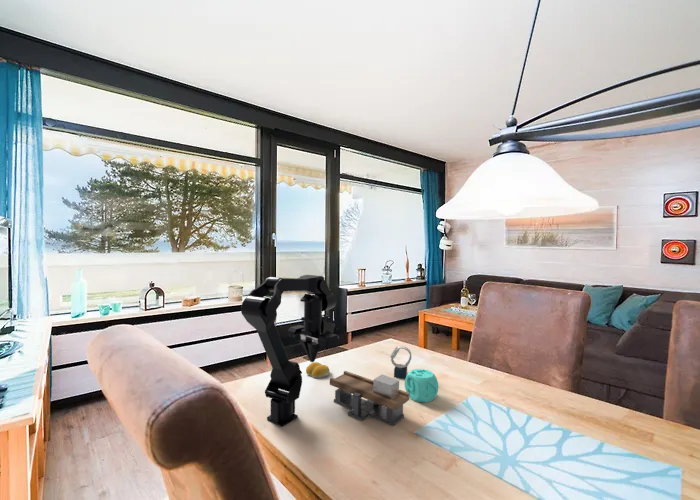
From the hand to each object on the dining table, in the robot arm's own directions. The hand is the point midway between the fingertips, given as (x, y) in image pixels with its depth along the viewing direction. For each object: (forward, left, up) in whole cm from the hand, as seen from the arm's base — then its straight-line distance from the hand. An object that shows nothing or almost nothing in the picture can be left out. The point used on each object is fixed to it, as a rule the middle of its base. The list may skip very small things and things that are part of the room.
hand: (312, 361), depth 113 cm
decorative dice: (+23, -27, -12) cm, 38 cm away
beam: (+5, -18, -6) cm, 20 cm away
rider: (+5, -25, -5) cm, 26 cm away
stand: (+5, -18, -12) cm, 23 cm away
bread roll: (+16, +12, -12) cm, 23 cm away
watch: (+34, -13, -12) cm, 39 cm away
